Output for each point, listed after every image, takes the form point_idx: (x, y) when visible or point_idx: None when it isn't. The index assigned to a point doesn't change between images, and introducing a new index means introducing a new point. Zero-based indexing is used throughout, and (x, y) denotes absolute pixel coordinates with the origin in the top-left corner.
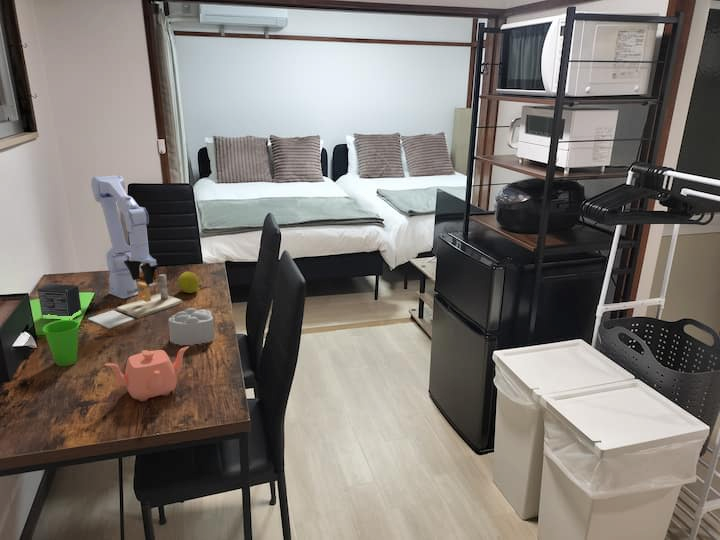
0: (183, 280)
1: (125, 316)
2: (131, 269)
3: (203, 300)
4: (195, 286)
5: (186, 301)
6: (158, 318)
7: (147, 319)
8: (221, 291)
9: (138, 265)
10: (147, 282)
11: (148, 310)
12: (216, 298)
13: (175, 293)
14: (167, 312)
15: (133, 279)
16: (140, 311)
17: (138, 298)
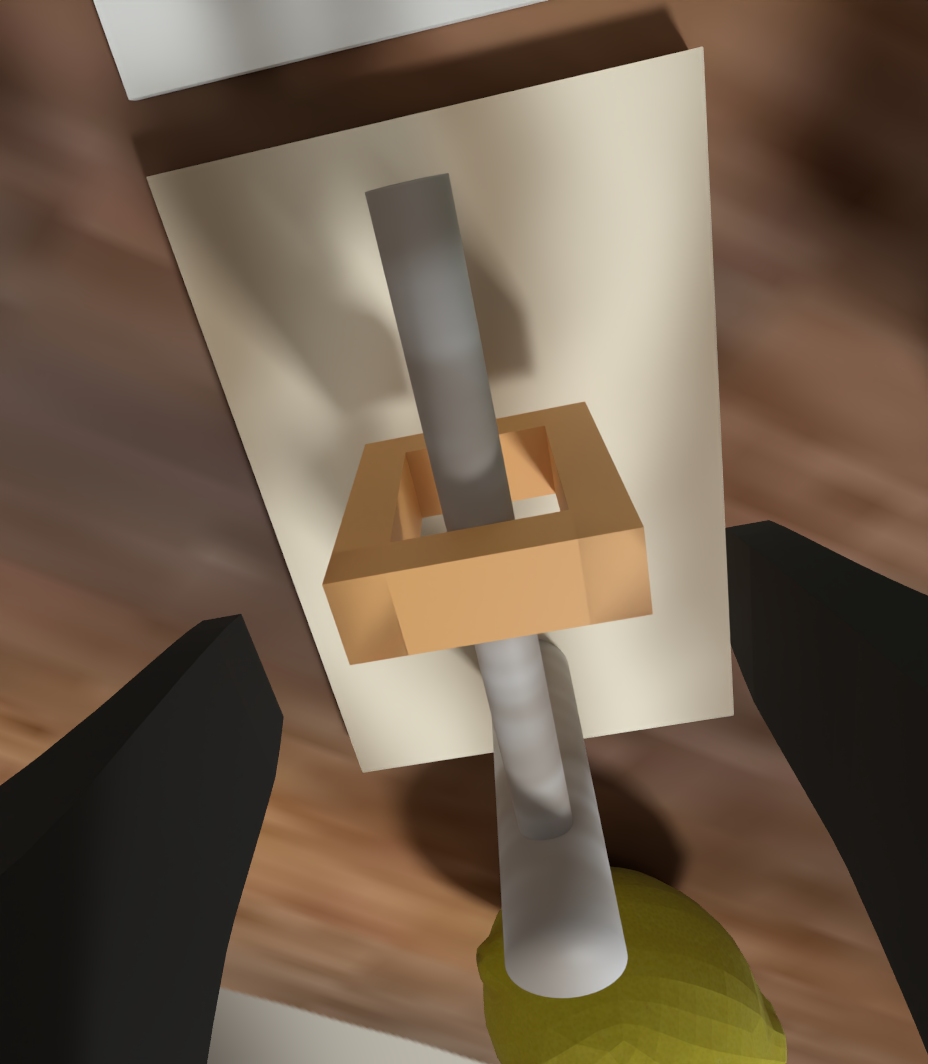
0: (563, 1002)
1: (289, 22)
2: (890, 693)
3: (306, 885)
4: (483, 986)
5: (378, 787)
6: (35, 388)
7: (65, 264)
8: (419, 1033)
9: (912, 969)
10: (167, 655)
11: (266, 380)
12: (287, 960)
13: (663, 802)
14: (179, 542)
15: (744, 528)
16: (293, 279)
17: (578, 405)
